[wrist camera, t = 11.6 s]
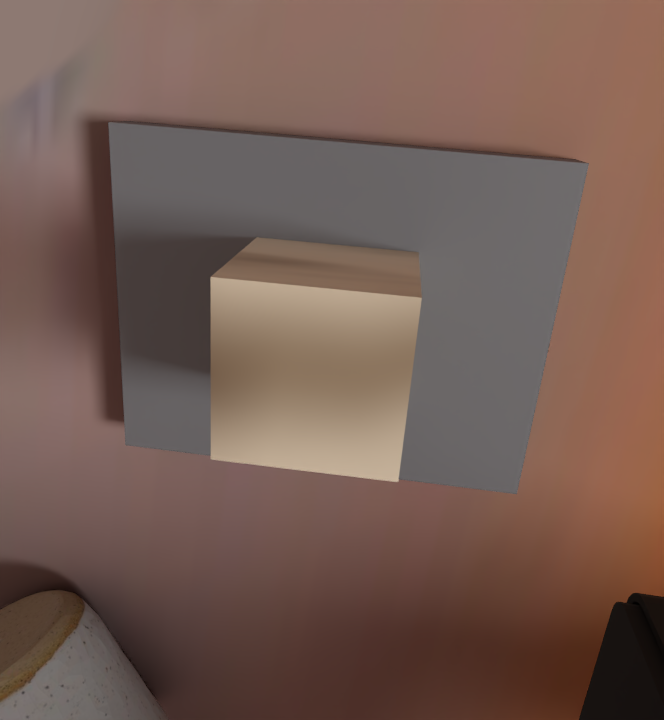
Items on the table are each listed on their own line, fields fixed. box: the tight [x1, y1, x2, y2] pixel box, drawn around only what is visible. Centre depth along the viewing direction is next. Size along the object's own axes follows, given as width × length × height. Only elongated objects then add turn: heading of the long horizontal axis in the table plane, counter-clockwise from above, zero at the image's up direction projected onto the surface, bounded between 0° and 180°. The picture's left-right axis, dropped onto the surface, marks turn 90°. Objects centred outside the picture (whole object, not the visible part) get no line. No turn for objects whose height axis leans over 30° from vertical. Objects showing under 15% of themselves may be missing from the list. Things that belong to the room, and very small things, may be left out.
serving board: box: [108, 121, 589, 494], centre depth 21 cm, size 11×14×2 cm
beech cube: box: [211, 237, 422, 482], centre depth 18 cm, size 5×5×5 cm
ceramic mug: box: [0, 590, 168, 720], centre depth 26 cm, size 11×8×8 cm
